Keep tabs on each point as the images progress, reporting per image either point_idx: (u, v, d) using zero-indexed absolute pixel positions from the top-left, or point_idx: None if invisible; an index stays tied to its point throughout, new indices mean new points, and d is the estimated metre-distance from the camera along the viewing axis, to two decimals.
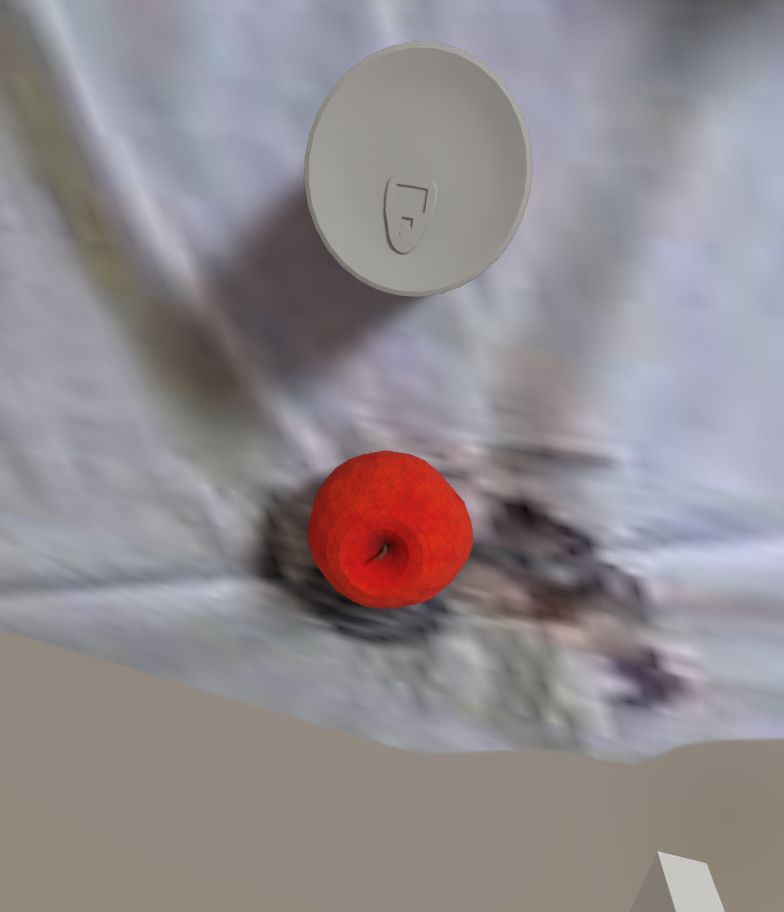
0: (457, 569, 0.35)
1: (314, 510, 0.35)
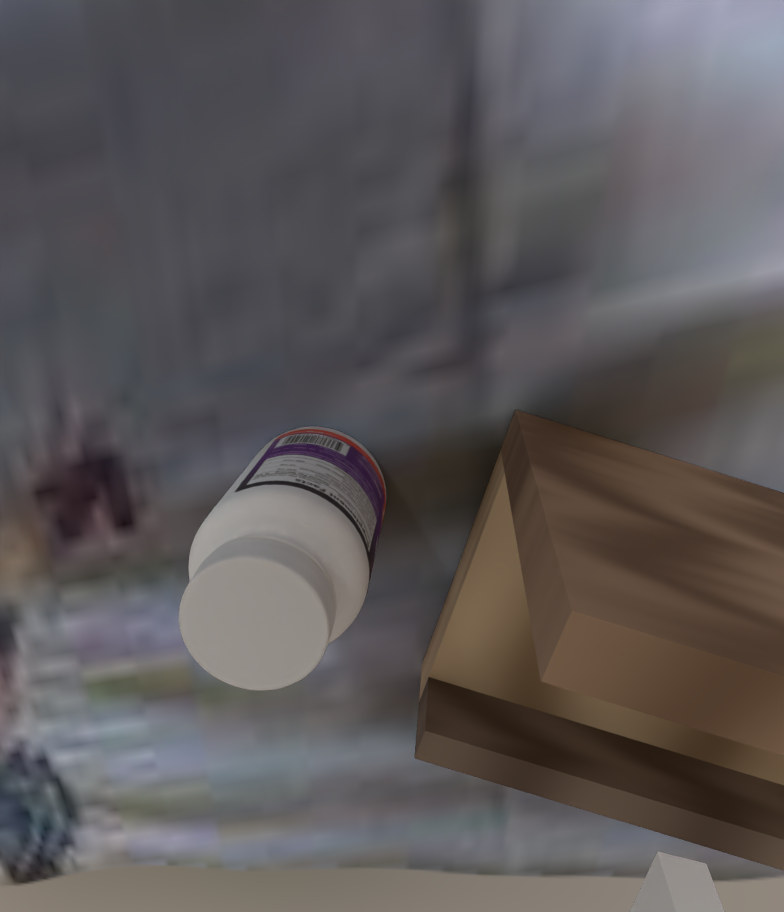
0: None
1: None
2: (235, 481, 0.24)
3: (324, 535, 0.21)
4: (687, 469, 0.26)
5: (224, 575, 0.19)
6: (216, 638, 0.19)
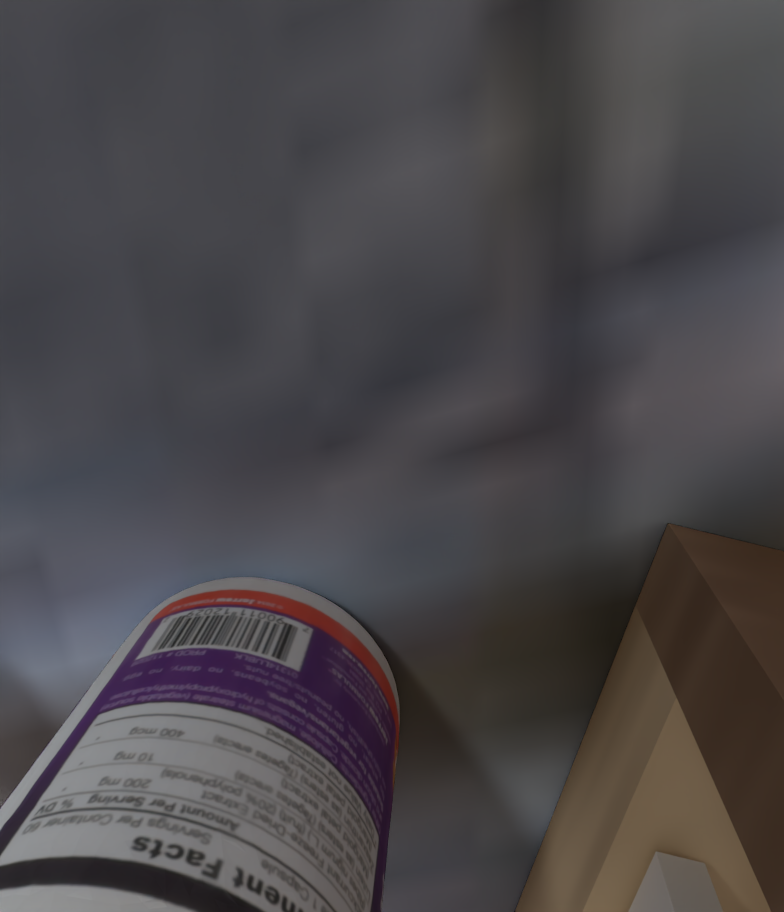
0: None
1: None
2: (28, 771, 0.10)
3: None
4: None
5: None
6: None
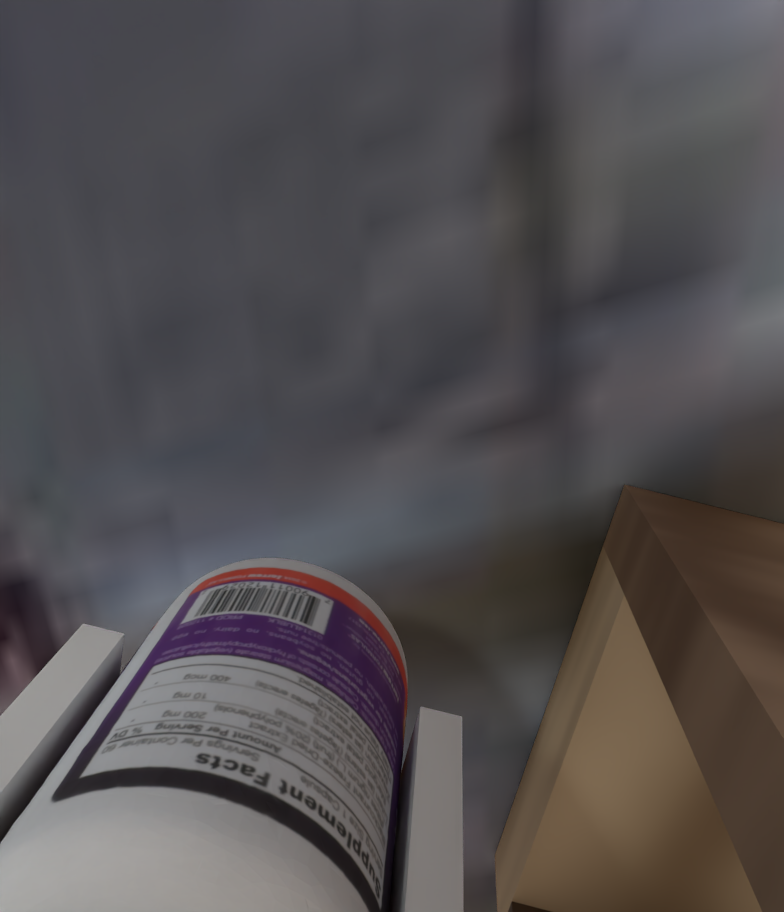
0: None
1: None
2: (92, 715, 0.11)
3: None
4: None
5: None
6: None
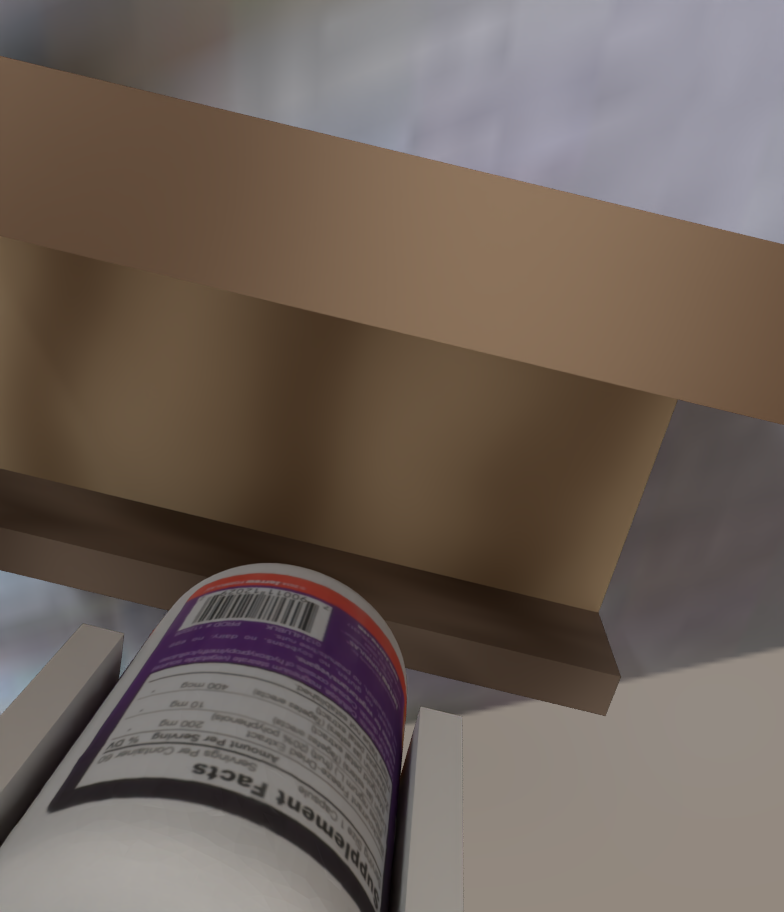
0: None
1: None
2: (88, 723, 0.11)
3: None
4: None
5: None
6: None
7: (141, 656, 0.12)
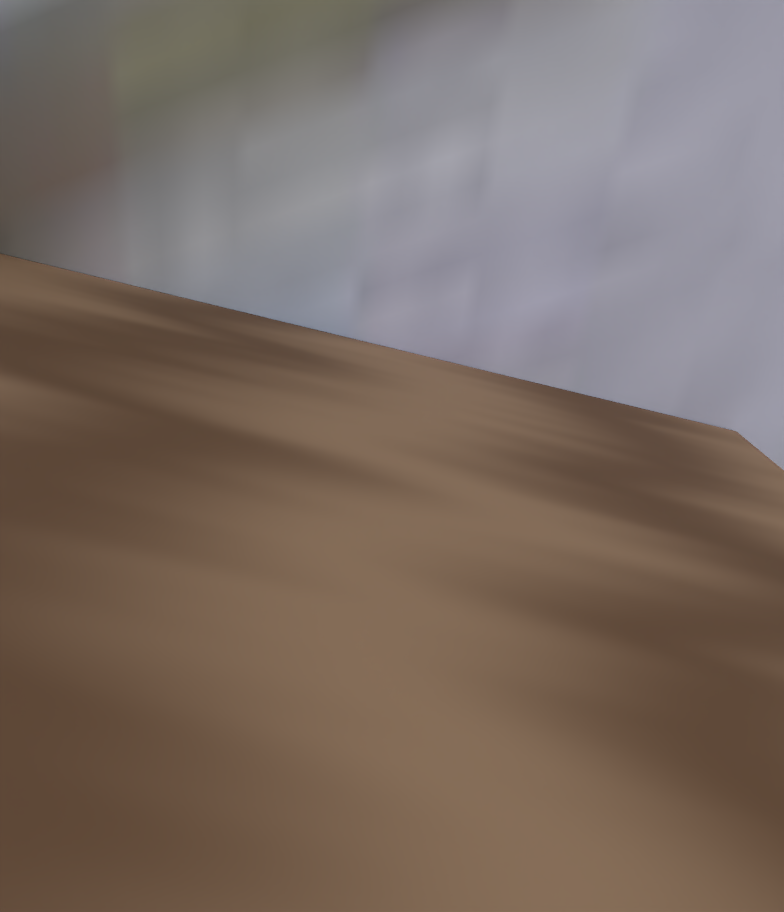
0: None
1: None
2: None
3: None
4: (66, 279, 0.14)
5: None
6: None
7: None
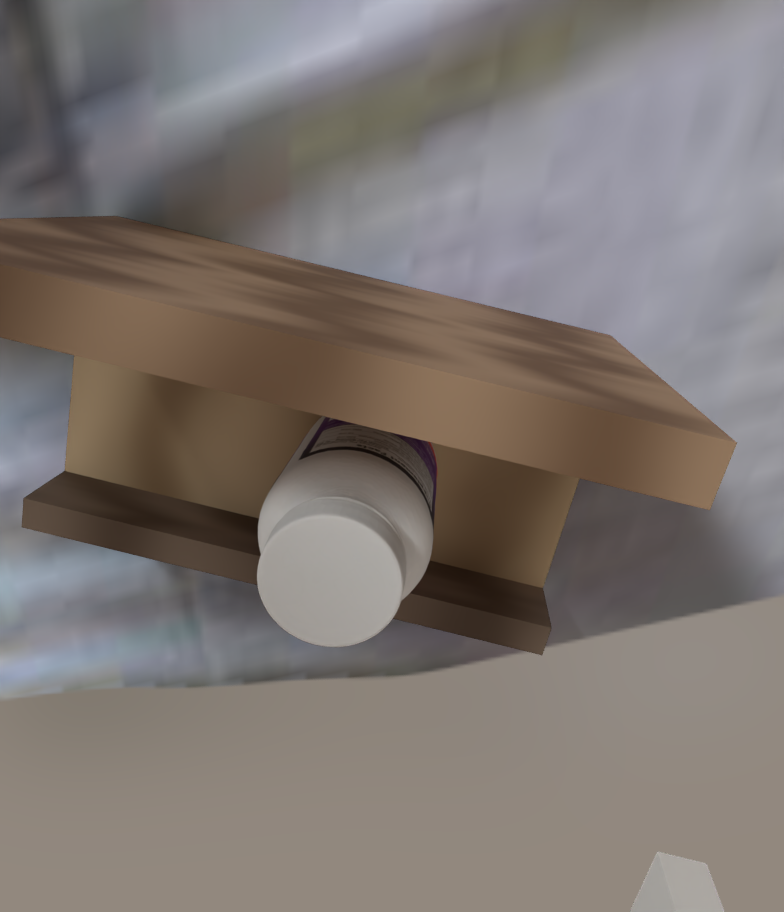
0: None
1: None
2: (294, 453, 0.25)
3: (390, 495, 0.21)
4: (263, 254, 0.28)
5: (299, 534, 0.19)
6: (294, 597, 0.20)
7: (310, 433, 0.26)
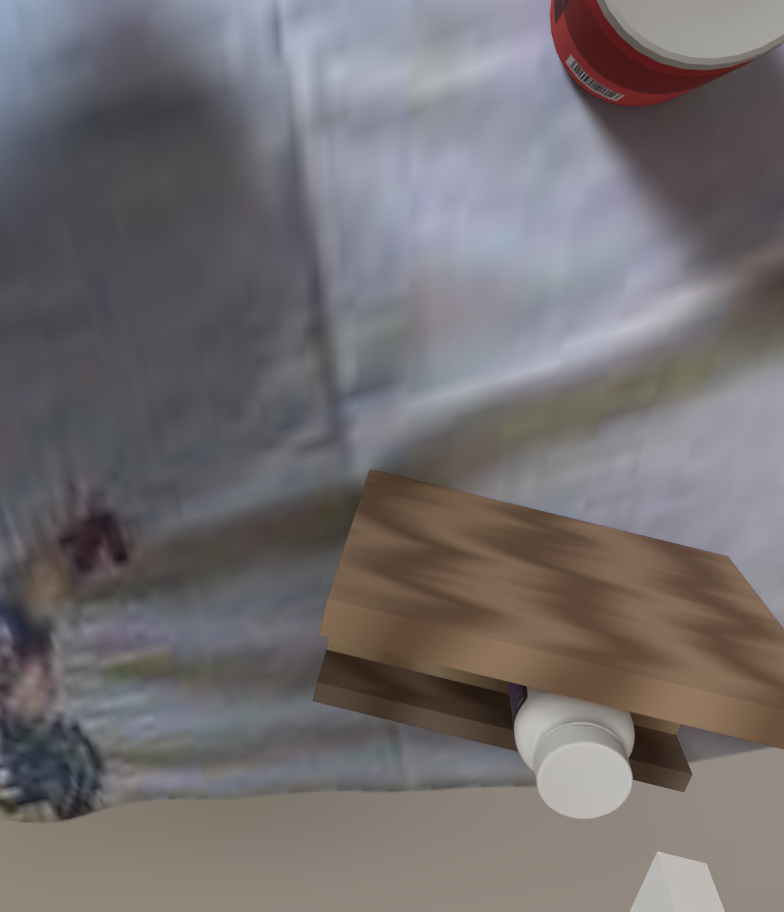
0: None
1: None
2: None
3: (613, 715, 0.32)
4: (481, 503, 0.39)
5: (569, 754, 0.30)
6: (560, 789, 0.31)
7: None
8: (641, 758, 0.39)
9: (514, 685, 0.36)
